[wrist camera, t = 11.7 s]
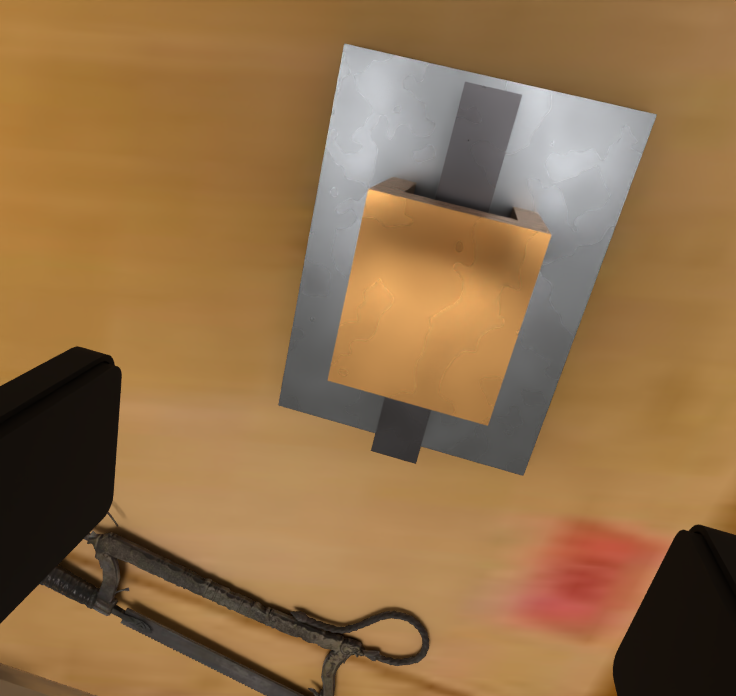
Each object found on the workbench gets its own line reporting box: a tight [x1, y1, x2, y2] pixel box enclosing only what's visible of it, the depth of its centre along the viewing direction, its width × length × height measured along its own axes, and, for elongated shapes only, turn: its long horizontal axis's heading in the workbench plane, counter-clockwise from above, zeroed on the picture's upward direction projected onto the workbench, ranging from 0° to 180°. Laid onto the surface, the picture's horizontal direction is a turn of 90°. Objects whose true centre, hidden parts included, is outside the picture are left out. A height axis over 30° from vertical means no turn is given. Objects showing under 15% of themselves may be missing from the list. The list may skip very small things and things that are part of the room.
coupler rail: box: [278, 44, 657, 476], centre depth 25 cm, size 16×12×4 cm
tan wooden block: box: [327, 177, 551, 426], centre depth 23 cm, size 7×6×6 cm
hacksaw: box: [40, 512, 429, 696], centre depth 35 cm, size 24×10×1 cm, turn 65°
